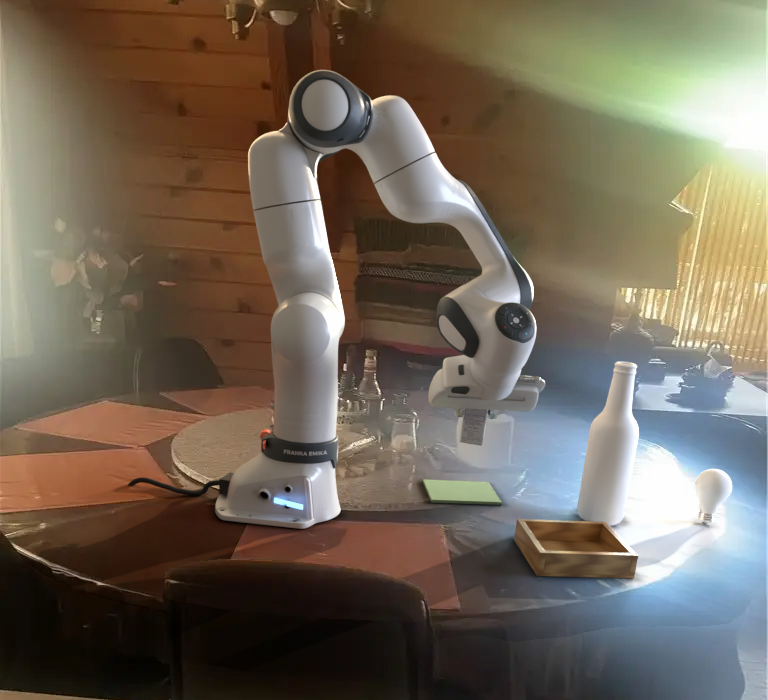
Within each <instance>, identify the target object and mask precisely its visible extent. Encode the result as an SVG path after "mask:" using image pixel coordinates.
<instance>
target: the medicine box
mask: <svg viewBox="0 0 768 700" xmlns="http://www.w3.org/2000/svg"><path fill="white" fill-rule="evenodd" d="M487 419H488V410H481V409H464V415H463V417H462V422H461V430H460V438H459V442H460V443H463V444H466V445H467V444H468V445H473V446H474V445H475V446H481V447H482V446H483V443H484V438H485V432H486V427H487V426H486V425H487Z"/></svg>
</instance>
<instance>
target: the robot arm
mask: <svg viewBox="0 0 768 700" xmlns="http://www.w3.org/2000/svg"><path fill="white" fill-rule="evenodd" d="M286 120H287V121H286V123H285V124H284V126H283V127H282V128H280V129H278V130H273V131H269V132H265V133H264V134H262V135H260V136H258V137H257V138H256V139H255V140H254V141H252V143H251V145H250V146H249V149H248V154H247V169H248V183H249V192H250V200H251V205H252V210H253V215H254V216H253V217H254V221H255V226H256V231H257V236H258V241H259V244H260V250H261V251H260V252H261V256H262V260H263V263H264V266H265V267H266V270H267V274H268V276H269V279H270V282H271V285H272V288H273V292H274V295H275V299H276V302H277V305H278V306H277V308H276V309H275V311H274V313H273V315H272V317H271V321H270V344H271V345H270V346H271V347H270V349H271V350H270V351H271V365H272V376H273V386H274V387H273V388H274V389H273V390H274V395H273V396H274V399H273V429H272V430H273V431H271V430H270V429H269V428H264V429H262V431H260V434H259V438H260V440H261V443H260V450H261V452H259V453H258V454H257V455H255V456H254V457H252V458H251V459H249V460H247V461H246V462H244V463H243V464H242V465H240V466H238V467H237V468H236V470H235V471H234V472H229V473H227V474H225V475H224V476H222V477H220V478H219V479H214V480H210V481H207V482H206V483H205V484H204V485H203V487H202V488H201V489H197V490H192V489H186V488H181V487H180V488H179V487H176V486H174V485H171V484H168V483H164V482H161V481H159V480H156V479H153V478H149V477H146V476H145V477H144V476H143V477H141V476H140V477H136V478H133V479H132V480H130V481H129V483H127V486H128V487H134V486H135V485H137V484H140V483H144V484H149V485H151V486H154V487H157V488H161V489H164V490H167V491H170V492H172V493H175V494H179V495H185V496H189V497H190V496H191V497H198V496H202V495H205V494H206V493H207V492H208V491H209V488H212V487H213V486H218V496H217V499H216V501H215V505H214V512H215V515H216V516H217V517H218V518H219V520H222V521H228V522H235V523H236V522H237V523H245V524H252V525H253V524H254V525H262V526H273V527H281V528H282V527H283V528H291V529H299V530H300V529H301V530H302V529H307V528H310V527H312V526H313V525H315V524H318V523H322V522H326V521H329V520H332V519H334V518H336V517H338V515H340V513H341V505H340V501H339V497H338V488H337V479H336V478H337V477H336V467H337V466H338V465H337V464H338V461H339V460H338V458H339V436H338V435H337V424H338V405H339V377H338V375H339V371H338V370H339V369H338V368H339V344H340V343H339V342H340V338H341V337H342V335H343V332H344V329H345V325H346V317H345V312H344V307H343V302H342V298H341V292H340V288H339V284H338V280H337V279H338V278H337V276H336V270H335V266H334V262H333V259H332V255H331V250H330V245H329V239H328V235H327V234H328V233H327V228H326V222H325V217H324V210H323V205H322V200H321V195H320V190H319V183H318V173H317V172H318V165H319V163H320V162H322V161H323V160H326V159H329V157H332V156H334V155H336V154H338V153H339V152H341V151H342V150H345V149H347V150H350V151H352V152H354V153H355V154H357V156H358V157H359V159H361V160H362V163H363V164H364V165H365V167H366V169H367V171H368V174H369V176H370V179H371V180H372V183H373V185H374V187H375V189H376V191H377V194H378V196H379V198H380V200H381V202H382V204H383V205H384V207H385V208H386V210H387V211H388V212H389V213H390V214H391V216H394V217H395V218H397V219H399V220H402V221H404V222H407V223H412V224H430V223H440V224H447V225H450V226H452V227H453V228H455V229H456V230H457V231H458V232H459V233H460V234H461V236H462V237H463V240H464V241H465V242H466V244H467V245H468V247H469V249H470V250H471V252H472V254H473V255H474V257H475V259H476V260H477V262H478V263H479V265H480V267H481V274H480V275H478V276H476V277H475V278H473V279H471V280H470V281H468V282H466V283H465V284H462V285H460V286H459V287H457V288H455V289H454V290H452V291H450V292H449V293H447V294H445V295H444V296H442V297H441V298H440V299H439V301H438V302H437V307H436V313H435V315H436V325H437V329H438V333H439V334H440V337H441V338H442V339H443V341H444V342H445V343H446V344H447V345H449V346H450V347H451V348H452V349H454V350H455V351H456V352H458V353H459V354H461V355H456V356H449V357H445V358H444V359H443V361H442V368H440V369H438V370H437V371H436V373H435V374H434V375H433V377H432V380H431V382H430V384H429V387H428V394H427V395H428V397H427V398H428V404H429V406H431V407H433V408H445V409H453V411H454V417H455V418H463V416H464V409H481V410H488V414H487V419H488V420H489V419H490V420H496V419H497V418H498V416H500V415H502V414H504V413H506V412H520V413H521V412H522V413H529V412H532V411H533V410H535V409H536V406H537V404H538V400H539V398H540V397H539V394H540V393H541V392H542V391H544V389H545V387H546V381H545V380H544V379H542V378H541V377H539V376H536V375H535V376H533V375H521V374H522V373H521V372H522V369H523V367H525V365H526V363H527V362H528V360H529V358H530V355H531V353H532V351H533V348H534V345H535V342H536V337H537V323H536V319H535V316H534V314H533V313H532V312H531V308H532V305H533V300H534V284H533V281H532V279H531V277H530V275H529V273H527V271H526V269H524V267H522V265H521V264H520V263H519V261H517V260H516V258H515V257H514V255H513V254H512V252H511V251H510V249H509V247H508V246H507V244H506V242H505V240H504V239H503V238H502V236H501V234H500V232H499V231H498V229H497V227H496V226H495V224H494V222H493V221H492V219H491V217H490V216H489V214H488V212H487V210H486V209H485V207H484V205H483V204H482V202H481V201H480V199H479V197H478V196H477V195H476V194H475V192H474V191H473V189H472V188H471V187H470V185H468V183H466V182H465V181H463V180H461V179H456V178H455V177H454V176H453V175H452V174H451V173H450V172H449V171H448V170H447V169H446V168H445V166H444V165H443V164H442V162H441V160H440V159H439V157H438V154H437V153H436V151H435V148H434V145H433V144H432V141H431V139H430V137H429V135H428V134H427V131H426V129H425V128H424V126H423V125H422V123H421V121H420V119H419V118H418V116H417V115H416V113H415V112H414V110H413V108H412V107H411V105H410V104H409V103H408V102H407V101H406V99H404V98H403V97H401V96H399V95H391V94H389V95H384V96H380V97H379V96H378V97H377V98H375V99H372V98H371V96H370V95H368V94H367V93H366V92H364V91H363V90H362V89H360V88H359V87H357V86H356V85H355V84H354V83H353V82H351V81H350V80H349V79H348V78H347V77H345V76H343V75H342V74H340V73H338V72H336V71H333V70H329V69H317V70H313V71H311V72H309V73H307V74H305V75H304V76H303V77H301V78H300V79H299V80H298V81H297V83H296V84H295V85H294V87H293V89H292V91H291V92H290V95H289V101H288V110H287V119H286Z"/></svg>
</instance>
